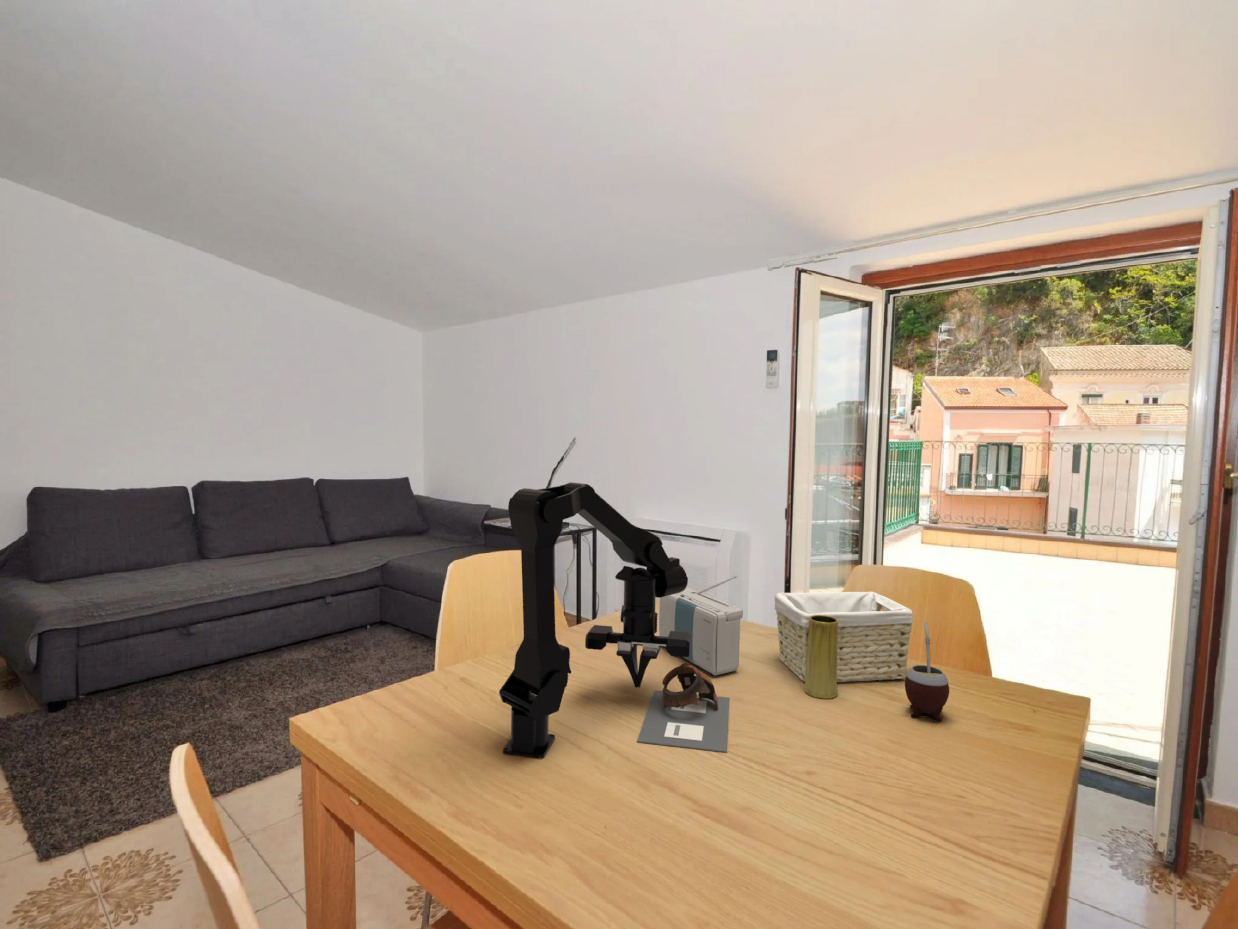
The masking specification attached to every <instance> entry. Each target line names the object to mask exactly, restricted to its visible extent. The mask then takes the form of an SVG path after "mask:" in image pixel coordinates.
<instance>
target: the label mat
mask: <svg viewBox="0 0 1238 929" xmlns="http://www.w3.org/2000/svg"><path fill="white" fill-rule="evenodd" d="M652 693H653V694H652V695H651V699H650V701H649V702H650V703H649V705H648V709H647V711H646V714H645V716H644V719H643V723H642V725H641V727H640V731H639V734H638V737H637V740H636V743H638V744H639V743H641V744H648V745H658V746H666V747H673V748H680V749H681V748H682V749H690V748H691V750H698V749H700V750H701V751H710V752H716V751H717V752H718V753H726V754H728V744H729V743H728V742H729V741H728V740H729V738H728V737H729V736H728V735H729V718H730V696H729V697H728V696H727V697H726V696H717V700H718V710H716V708H715V703H714V701H712V700H710V699H707V698H701V699H700V698H699V693H697V700H698V704H699V705H695V704H689V705H686V706H680V707H678V708H676V707H671V706H667V707H666V708H665V707H664V704H663V700H662V693H663V690H658V689H654V690H653V692H652Z"/></svg>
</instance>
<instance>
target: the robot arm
mask: <svg viewBox="0 0 1238 929" xmlns="http://www.w3.org/2000/svg"><path fill="white" fill-rule="evenodd" d="M507 512H508V515H509V516H508V517H509V522H510V526H511V527H510V528H511V530H512V532H513V534H514V536H515V539H516V541H517V543H518V545H519V546H520V552H521V553H520V554H521V558H520V559H521V561H520V562H521V585H522V589H521V590H522V618H523V620H522V622H523V638H522V641H521V643H520V645H519V647H518V649H517V651H516V652H515V657H514V665H513V666H514V668H513V671H511V673H510V675H509V676H508V678H507V679H506V680H505V682H504V683H503V685H502V686H501V687H500V689H499V692H498V694H499V696H500V700H501V702H502V703H504V704H506V705H508V706H510V707H511V709H510V710H511V712H510V720H511V721H510V723H511V724H510V739H509V740H508V742H507V743H506V744H505V745H504V747H503V748H502V753H503V754H508V755H517V756H523V757H533V758H541V759H542V758H544V757H545V756H546V755H547V753H548V751H549V750H550V748H551V746H552V744H553V743H554V741H555V740H556V735H555V734H551V733H549V718H550V717H549V716H550V715H552V714H555V713H558V712H559V711H560V707H561V703H562V700H563V697H564V694H565V690H566V688H567V686H568V682H569V681H568V680H569V674H570V675H571V674H572V670H571V667H570V657H571V650H570V648H569V647H567V646H565V645H563V644H561V643H559V642H558V639H557V636H556V603H555V601H556V599H555V566H554V562H555V561H554V559H555V558H554V547H555V544H556V543H557V541H558V540H559V537H560V535H561V533H562V532H563V531H562V530H563V525H564V523H563V522H564V520H566V519H569V518H573V517H575V516H576V515H577V514H578V515H579V516H580V517H581V518H583V520H585V521H586V522H587V523H588V524H590V525H591V526H592V527H593V528H595V529H596V530H597V531H599V532H600V533H601V534H602V535H604V537H606V538H607V539H608V540H609V541H610V542H611V545H612V550H613V551H614V552H615V553H616V555H617V556H618V557H619V558H620V560H621V561H623V562H625V563H627V564H632V565H635V566H640V567H636V568H635V567H631V566H627V565H624V566H623V567H622V569H621V570H620V571H619V572H617V574H616V575H615V576H614V578H615V580H619V581H622V582H623V604H622V606H621V610H620V622H621V623H623V627H622V628H623V629H622V630H623V631H622V632H614V631H613V630H614V629H613V626H610V625H598V624H594V625H593V626H591V627H590V629H589V630H588V632H586V634H585V640H584V641H585V643H584V644H585V646H584V647H585V649H587V650H595V651H596V650H598V651H602V650H603V649H604V648H606V647H607V644H617V650H616V653H615V654H616V656H618V657H621V658H622V661H624V664H625V666H626V668H627V671H628V672H629V674H630V677H631V679H632V682H633V685H634V688H638V689H639V688H641V685H642V682H643V680H644V676H645V673H646V670H647V668H648V666H649V664H650V662H651V660H657V658H658V656H659V653H660V651H661V648H662V649H666V652H667V653H668V654H669V656H671V657H680V658H684V657H689V655H690V651H691V642H692V637H691V635H690V633H689V632H679V631H670V633H669V636H668V637H664V636H659V635H655V634H657V632H658V617H659V612H656V598H657V599H658V598H659V599H660V598H661V597H665V596H668V595H672V594H676V593H680V592H682V591H684V590H685V588H687V586H688V582H689V581H688V580H689V578H688V576H687V572H686V570H685V568H684V566H682V565H680V563H681V560H680V558H677V557H672V556H671V557H669V556H668V554H667V553H666V551H665V548H664V547H663V542H662V539H661V538H660V537H659V536H657V535H656V534H654V533H652V532H650V531H648V530H646V529H643V528H641V527H638V526H636V525H634V524H632V523H631V521H629V520H628V519H627V518H625V517H624V516H623V515H622V514H621V513H620V512H618V511H617V510H616V509H615V508H614V507H613V506H612V505H610V504H609V503H608V502H607V501H606V500H605V499H604V498H603V497H602V496H600V495H599V494H598V492H596V491H595V489H594V488H593V486H591V485H590V484H588V483H580V482H568V483H565V484H562V485H557V486H551V487H545V488H539V489H536V488H535V489H533V488H526V487H525V488H524V487H523V488H521V489H518V490H517V491H516V492H515V493H514V494H513V495H512V496H511V497H510V498H509V501H508V507H507ZM643 567H644V568H643ZM638 646H641V647H642V651H641V653H640V654H639V661H638Z"/></svg>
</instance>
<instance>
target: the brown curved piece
mask: <svg viewBox="0 0 1238 929" xmlns="http://www.w3.org/2000/svg"><path fill="white" fill-rule="evenodd" d="M674 678H677V680H678V682H679V683H680V685H681V688H682V690H681V691H676V692H675V691H671V690H670V689H668V686H669V684H670V682H671V681H672V680H674ZM712 681H713V680H711V678H710V677H709V676H708V675H707V674H706V673H704V672H702V671H701V670H699V669H698V668H697V667H696V666H694V665H692V664H690V663H689V662H686V661H685V662H683V663H681V664H680V665H678V666H675V667H674V668H672V669H671V670H670V671H668V672H667V673H666V675H665V676H664V677H663V679H662V682H661V683H662V685H663V688H662V691H663V693H662V700H663V704H664V707H665V708H666V707H667V706H671V707H676V708H678V707H680V706H686V705H689V704H695V705H699V704H698V700H697V694H699V698H700V699H701V698H707V699H710V700H712V701H714V703H715V708H716V710H718V700H717V693H716V689H715V685H714V684H713V682H712Z"/></svg>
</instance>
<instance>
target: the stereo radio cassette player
mask: <svg viewBox="0 0 1238 929" xmlns="http://www.w3.org/2000/svg"><path fill="white" fill-rule="evenodd" d="M737 578H738V575H734V576H733V577H731V578H728V579H726V580H724V581H720V582H718V583H716V584H713V585H711V586H709V587H707V588H704V589H702V590H700V591H698V590H695V589H692V588H690V587H688V588H687V587H686V588H685V590H684V591H682V592H680V593H676V594H672V595H668V596H665V597H661V598H659V610H658V611H659V612H658V634H659V635H658V636H664V637H668V636H669V633H670V631H679V632H689V633H690V635H691V637H692V642H691V651H690V655H689V657H683V659H686V660H687V661H689V662H691V663H692V664H694V665H696V666H697V667H699V668H701V669H702V670H704V671H706V672H708V673H709V674H711V675H713V676H715V677H716V676H719V675H723V674H727V673H731V672H735V671H737V670H738V668H739V667H740V648H741V647H740V644H741V642H740V640H741V620H742V619H743V616H744V610H743V609H742V608H739V607H737V606H734V605H733V604H730V603H727V602H725V601H723V600H720V599H718V598H715V597H713V596H710V595H708V594H706V593H705V592H707V591H709V590H713V589H714V588H717V587H719V586H720V585H723V584H726V583H727V582H729V581H731V580H733V579H737Z"/></svg>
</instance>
